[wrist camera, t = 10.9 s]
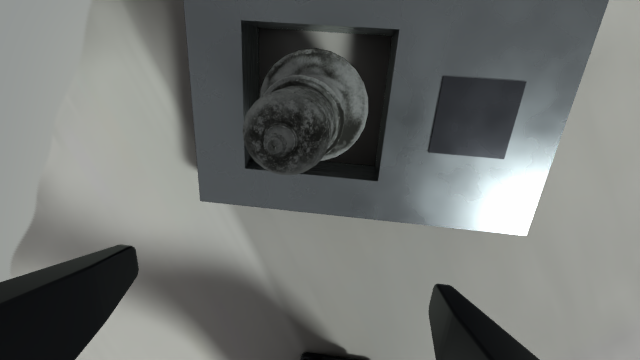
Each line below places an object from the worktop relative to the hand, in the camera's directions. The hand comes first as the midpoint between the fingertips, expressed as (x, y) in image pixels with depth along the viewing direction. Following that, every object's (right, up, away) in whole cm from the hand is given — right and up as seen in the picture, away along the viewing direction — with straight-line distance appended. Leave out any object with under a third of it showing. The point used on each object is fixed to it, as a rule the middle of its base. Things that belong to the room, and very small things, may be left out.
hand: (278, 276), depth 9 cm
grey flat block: (+4, +8, +10) cm, 13 cm away
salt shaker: (+1, +8, +11) cm, 13 cm away
